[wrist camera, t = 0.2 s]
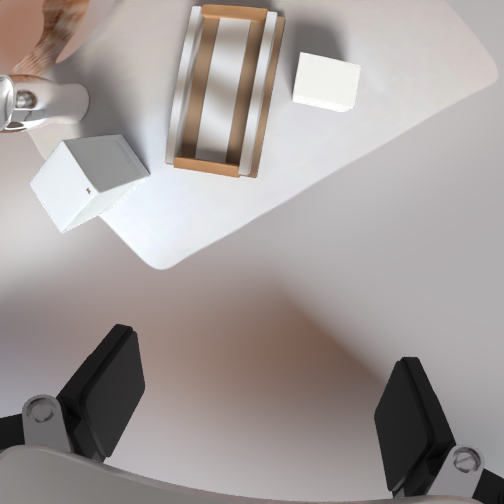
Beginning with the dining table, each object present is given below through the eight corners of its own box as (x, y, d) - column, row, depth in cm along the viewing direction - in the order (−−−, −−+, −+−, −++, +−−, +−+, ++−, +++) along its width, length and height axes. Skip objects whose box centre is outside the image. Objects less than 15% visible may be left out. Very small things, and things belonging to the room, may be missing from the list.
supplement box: (121, 132, 38) (63, 136, 26) (152, 175, 40) (101, 194, 28) (87, 167, 40) (27, 183, 28) (115, 208, 42) (60, 236, 30)
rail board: (196, 13, 32) (187, 2, 28) (285, 21, 31) (284, 9, 27) (170, 162, 39) (158, 166, 35) (256, 176, 38) (253, 181, 35)
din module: (298, 66, 33) (300, 52, 27) (349, 77, 33) (362, 66, 26) (292, 101, 35) (292, 93, 28) (343, 112, 35) (355, 108, 28)
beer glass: (86, 72, 35) (11, 60, 21) (97, 115, 37) (20, 116, 23) (51, 94, 37) (-23, 93, 23) (61, 135, 39) (-15, 145, 25)
